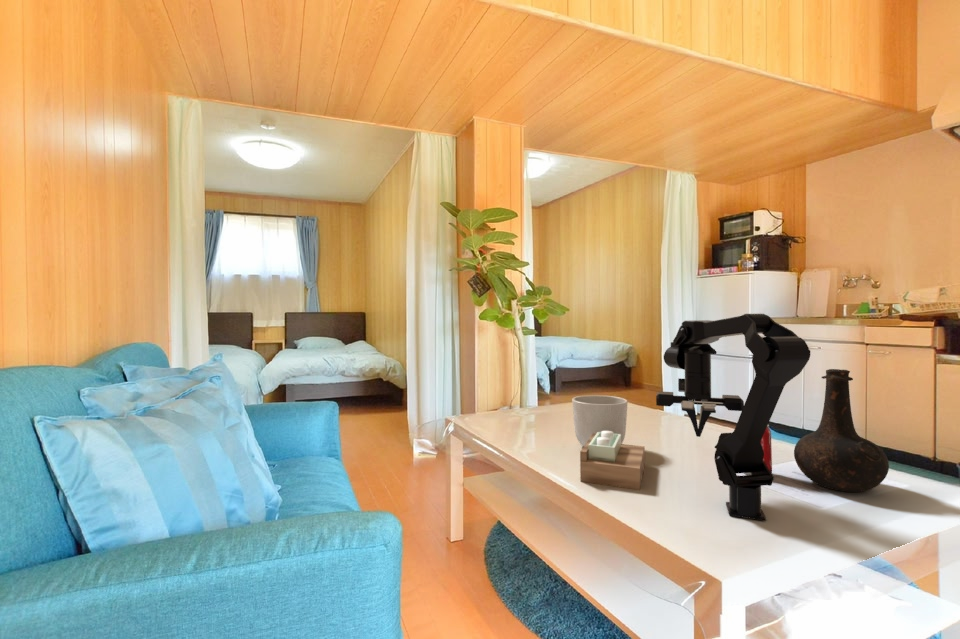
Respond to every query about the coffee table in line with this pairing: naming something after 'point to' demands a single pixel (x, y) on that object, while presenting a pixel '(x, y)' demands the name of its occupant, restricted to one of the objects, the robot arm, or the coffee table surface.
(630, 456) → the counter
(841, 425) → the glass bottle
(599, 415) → the planter
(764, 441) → the soda can
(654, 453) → the coffee table surface
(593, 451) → the tray
